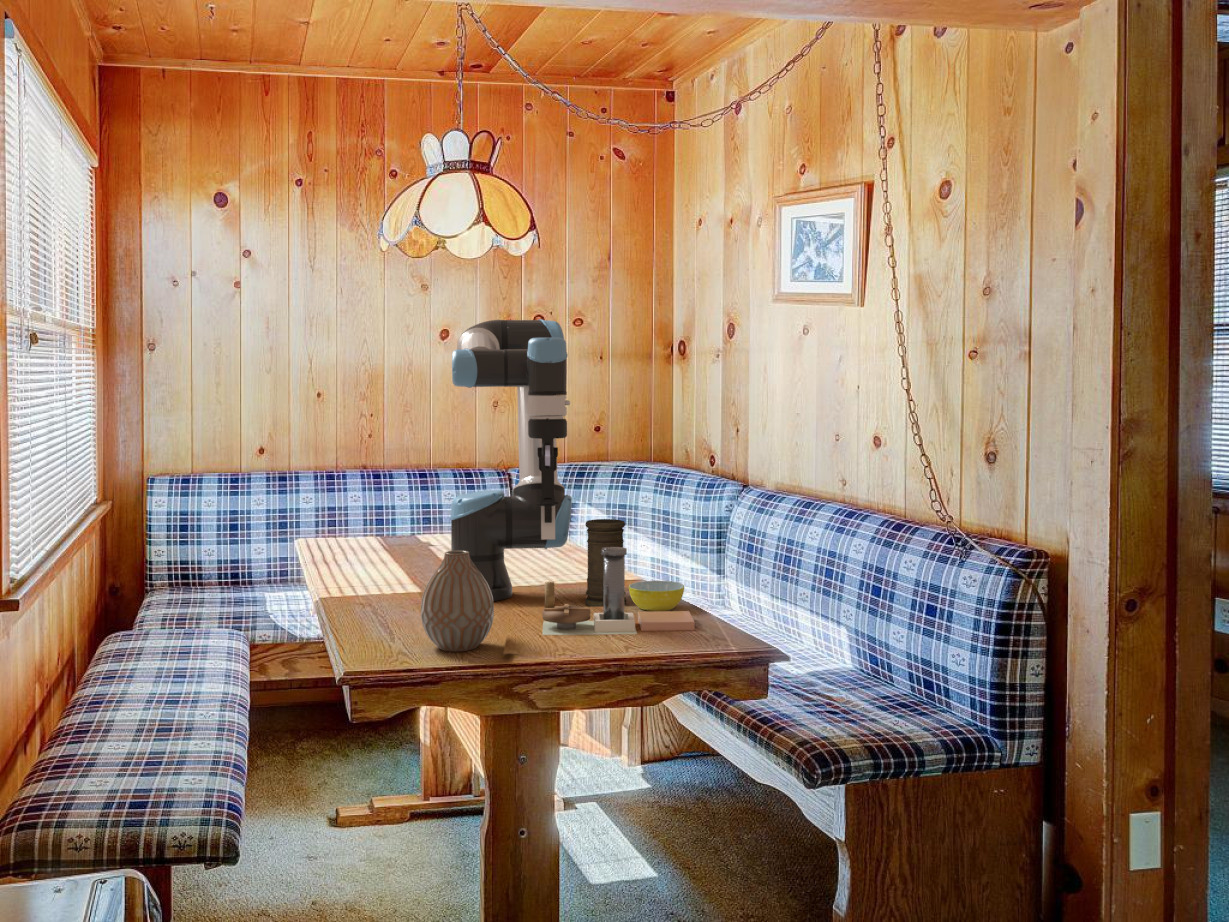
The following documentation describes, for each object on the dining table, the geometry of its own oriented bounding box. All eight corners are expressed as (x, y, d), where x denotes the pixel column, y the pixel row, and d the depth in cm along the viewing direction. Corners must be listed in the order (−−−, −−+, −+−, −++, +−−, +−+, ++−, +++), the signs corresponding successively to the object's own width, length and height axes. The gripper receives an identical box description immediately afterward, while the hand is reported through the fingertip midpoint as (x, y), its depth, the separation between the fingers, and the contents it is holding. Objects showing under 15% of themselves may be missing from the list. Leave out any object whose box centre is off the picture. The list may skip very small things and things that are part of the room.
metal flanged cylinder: (601, 630, 224) (601, 550, 223) (601, 624, 229) (600, 546, 227) (627, 629, 224) (627, 550, 223) (626, 624, 229) (626, 546, 228)
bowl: (643, 622, 237) (643, 592, 237) (619, 612, 248) (619, 582, 247) (694, 618, 242) (694, 588, 241) (668, 607, 252) (669, 578, 252)
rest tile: (641, 638, 224) (641, 622, 223) (638, 626, 234) (638, 611, 233) (694, 637, 224) (694, 621, 224) (688, 626, 234) (688, 611, 234)
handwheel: (542, 623, 221) (542, 588, 221) (543, 613, 230) (542, 580, 230) (590, 623, 222) (590, 588, 221) (589, 613, 230) (589, 579, 230)
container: (596, 609, 250) (596, 524, 249) (577, 602, 258) (577, 519, 257) (634, 605, 254) (634, 522, 253) (614, 598, 262) (614, 517, 261)
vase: (407, 652, 212) (406, 555, 211) (443, 637, 225) (442, 545, 223) (473, 659, 208) (472, 559, 206) (506, 642, 220) (505, 548, 219)
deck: (542, 642, 220) (542, 624, 220) (543, 628, 232) (543, 611, 232) (637, 641, 221) (637, 623, 220) (633, 627, 233) (633, 610, 232)
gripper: (567, 418, 224) (567, 543, 226) (566, 416, 237) (567, 534, 239) (527, 418, 224) (528, 543, 226) (529, 416, 237) (529, 534, 239)
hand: (548, 538), depth 232 cm, fingers closed
